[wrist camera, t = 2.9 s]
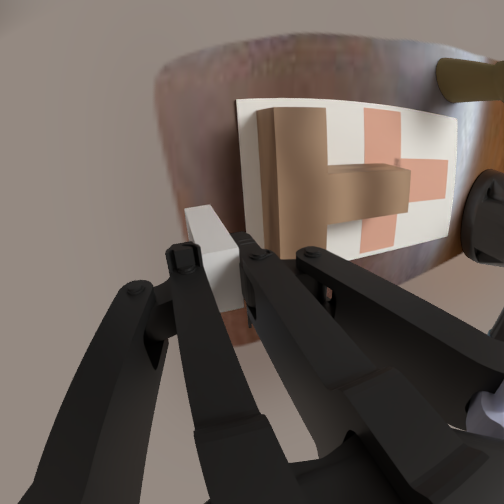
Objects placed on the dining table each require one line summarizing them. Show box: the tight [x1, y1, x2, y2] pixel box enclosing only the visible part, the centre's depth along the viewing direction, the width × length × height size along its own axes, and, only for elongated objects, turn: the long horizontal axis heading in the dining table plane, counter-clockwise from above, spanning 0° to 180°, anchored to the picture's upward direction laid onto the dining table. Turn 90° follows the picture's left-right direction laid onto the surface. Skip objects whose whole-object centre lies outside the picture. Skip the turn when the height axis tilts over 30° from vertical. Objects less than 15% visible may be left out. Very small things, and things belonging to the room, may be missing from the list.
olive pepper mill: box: [436, 58, 504, 103], centre depth 20 cm, size 6×6×11 cm
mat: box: [236, 98, 457, 260], centre depth 27 cm, size 28×16×1 cm, turn 94°
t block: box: [256, 107, 411, 259], centre depth 24 cm, size 13×14×4 cm
